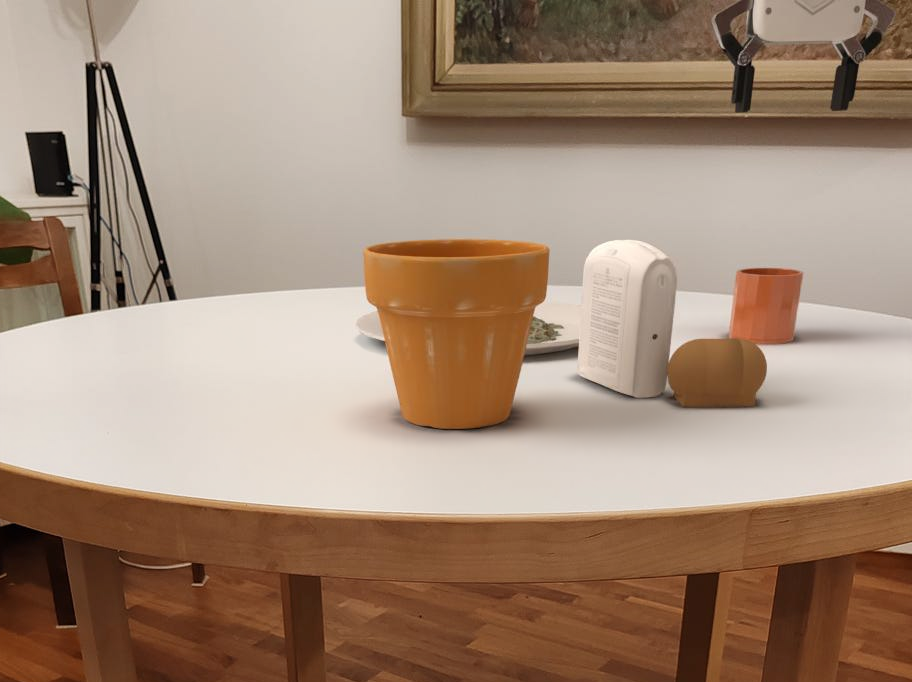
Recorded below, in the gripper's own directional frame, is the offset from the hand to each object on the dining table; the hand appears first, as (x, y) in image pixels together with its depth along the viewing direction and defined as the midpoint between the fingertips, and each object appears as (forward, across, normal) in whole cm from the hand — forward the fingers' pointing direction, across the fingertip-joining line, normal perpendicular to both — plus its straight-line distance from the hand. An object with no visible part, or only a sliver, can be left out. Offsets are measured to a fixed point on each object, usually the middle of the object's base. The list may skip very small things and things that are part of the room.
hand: (790, 111), depth 99 cm
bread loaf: (+22, -12, -28) cm, 38 cm away
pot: (+22, 0, 0) cm, 22 cm away
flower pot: (+22, -34, -32) cm, 52 cm away
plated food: (+22, -30, +3) cm, 37 cm away
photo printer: (+22, -19, -22) cm, 37 cm away
